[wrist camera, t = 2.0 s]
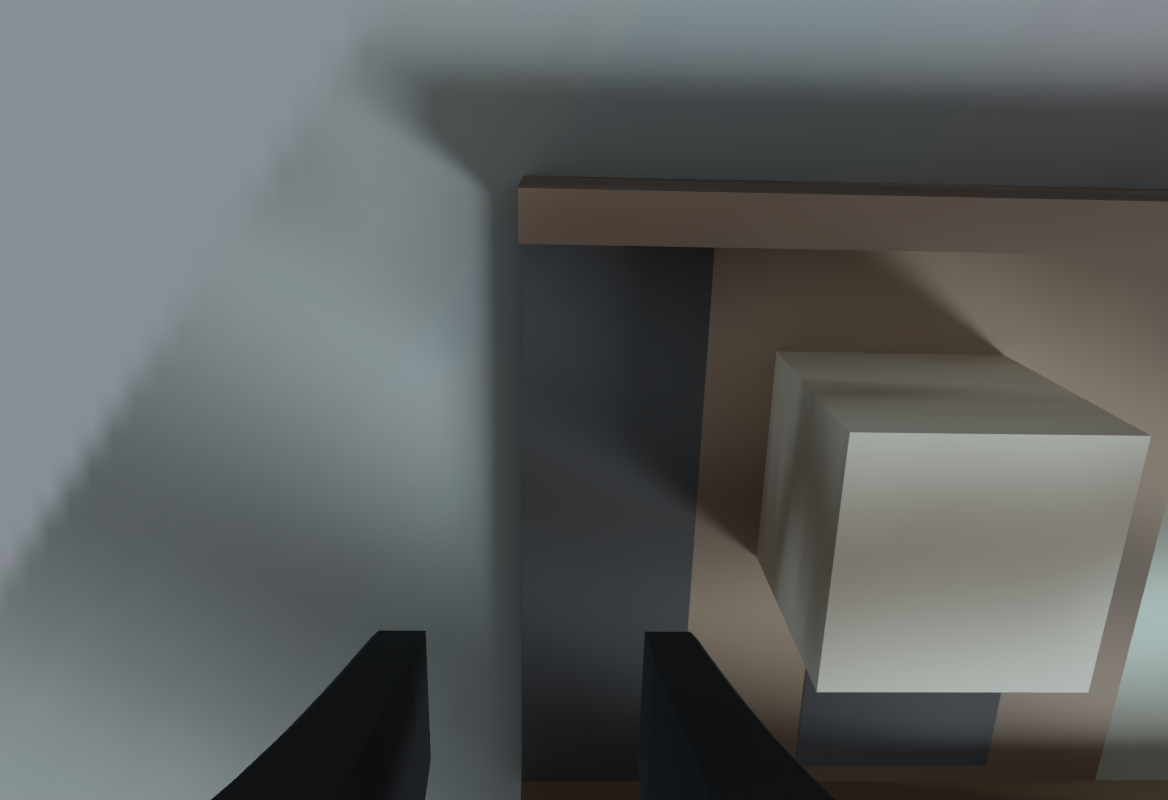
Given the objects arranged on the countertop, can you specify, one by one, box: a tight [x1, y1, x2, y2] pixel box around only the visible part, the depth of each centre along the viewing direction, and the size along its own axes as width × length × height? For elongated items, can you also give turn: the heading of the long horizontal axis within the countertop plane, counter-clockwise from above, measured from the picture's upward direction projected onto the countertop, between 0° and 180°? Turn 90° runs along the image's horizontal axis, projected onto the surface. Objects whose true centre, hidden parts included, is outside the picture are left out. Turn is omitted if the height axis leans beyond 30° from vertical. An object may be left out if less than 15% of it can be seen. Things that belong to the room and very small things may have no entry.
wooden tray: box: [518, 176, 1168, 800], centre depth 20 cm, size 16×23×3 cm
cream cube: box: [757, 351, 1151, 693], centre depth 17 cm, size 5×5×5 cm
